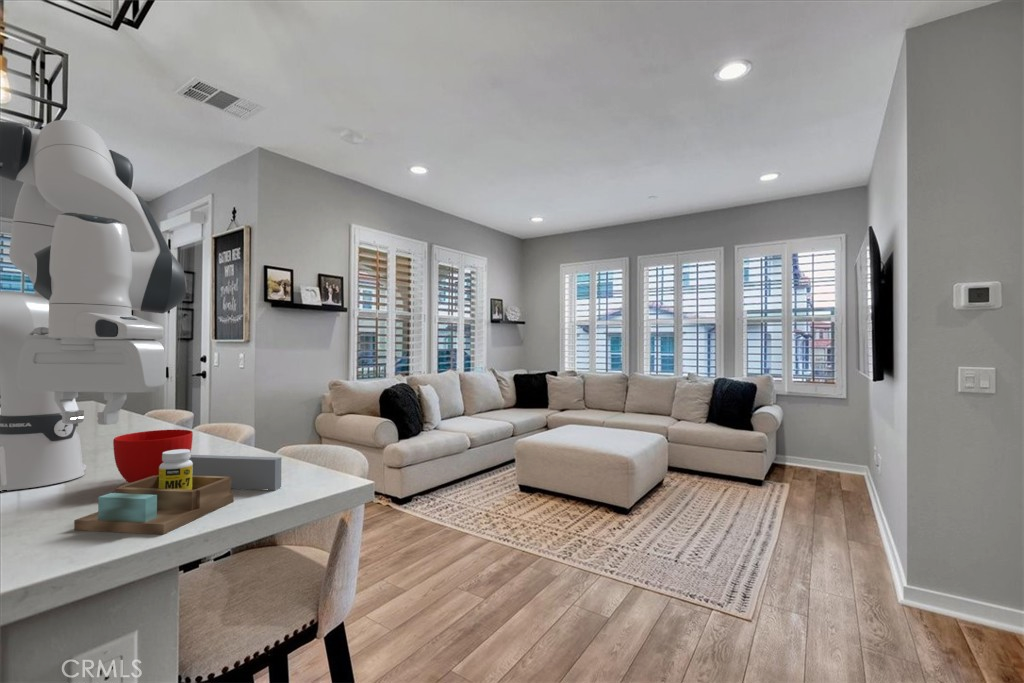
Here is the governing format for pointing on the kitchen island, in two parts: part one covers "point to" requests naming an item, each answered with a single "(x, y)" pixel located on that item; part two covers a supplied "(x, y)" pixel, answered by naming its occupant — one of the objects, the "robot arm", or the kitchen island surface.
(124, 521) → the divided wooden tray
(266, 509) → the kitchen island surface
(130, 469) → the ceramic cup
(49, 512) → the kitchen island surface
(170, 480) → the supplement bottle
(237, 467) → the board
